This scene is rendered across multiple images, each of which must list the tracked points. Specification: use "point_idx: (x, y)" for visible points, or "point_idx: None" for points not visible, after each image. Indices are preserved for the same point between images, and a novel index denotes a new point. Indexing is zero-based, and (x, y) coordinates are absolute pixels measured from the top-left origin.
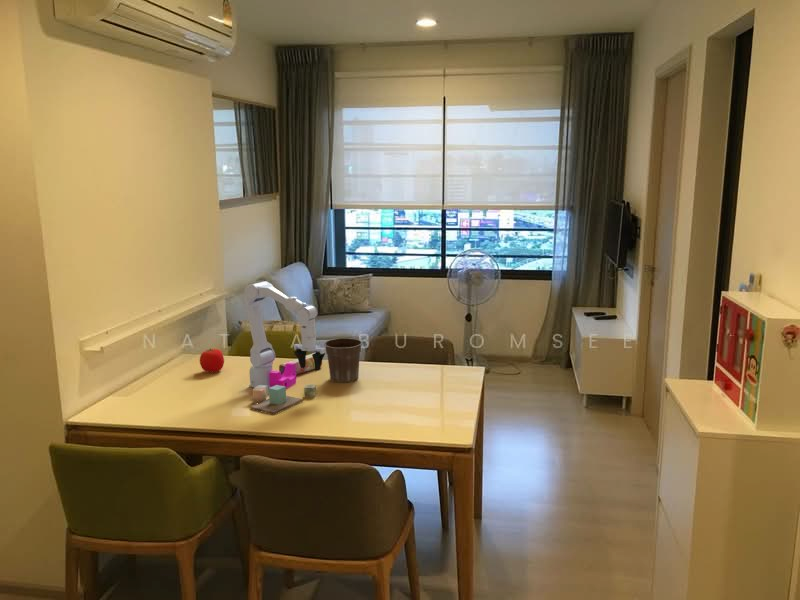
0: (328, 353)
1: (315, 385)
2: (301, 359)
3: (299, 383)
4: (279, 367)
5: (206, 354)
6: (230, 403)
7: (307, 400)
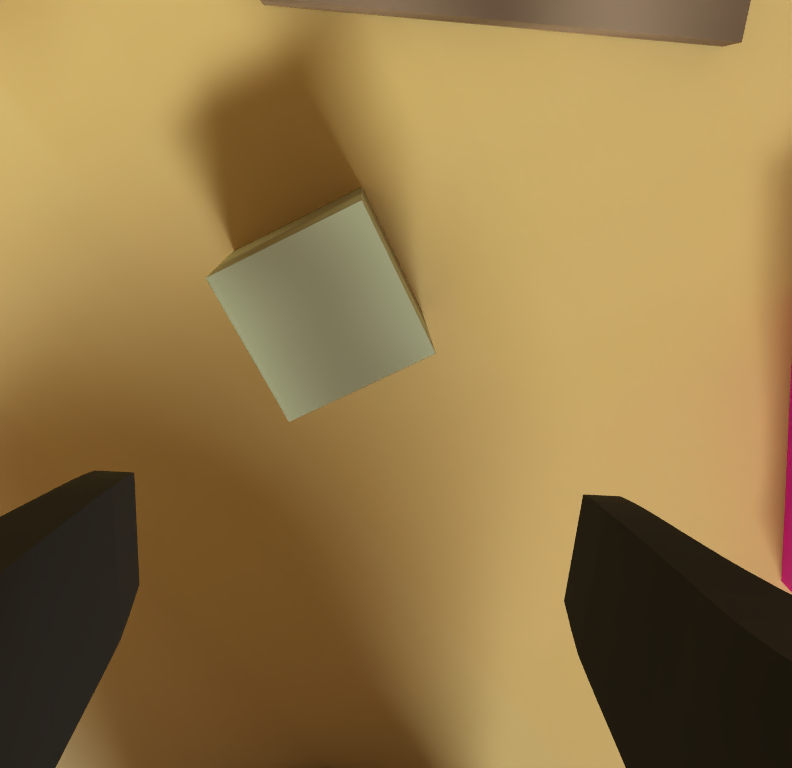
0: None
1: (275, 395)
2: (688, 656)
3: None
4: None
5: None
6: None
7: (232, 84)
